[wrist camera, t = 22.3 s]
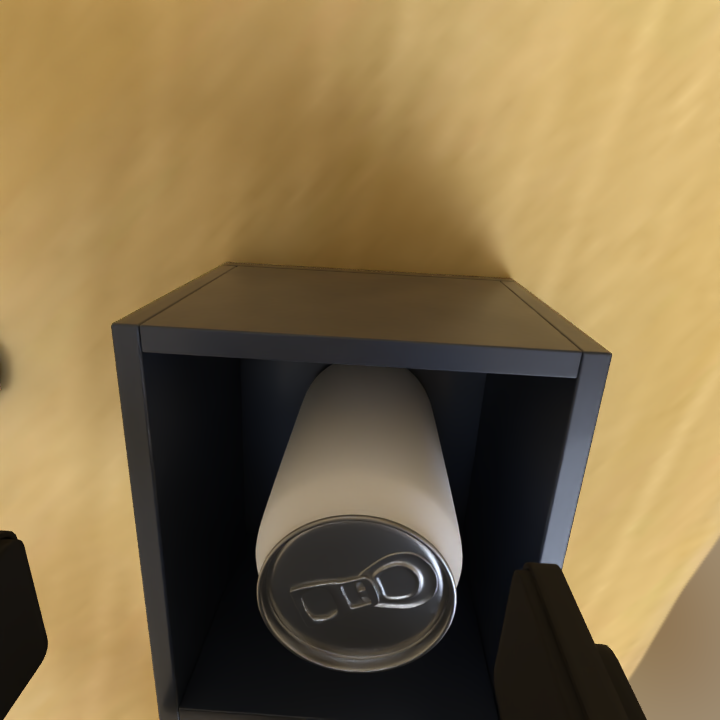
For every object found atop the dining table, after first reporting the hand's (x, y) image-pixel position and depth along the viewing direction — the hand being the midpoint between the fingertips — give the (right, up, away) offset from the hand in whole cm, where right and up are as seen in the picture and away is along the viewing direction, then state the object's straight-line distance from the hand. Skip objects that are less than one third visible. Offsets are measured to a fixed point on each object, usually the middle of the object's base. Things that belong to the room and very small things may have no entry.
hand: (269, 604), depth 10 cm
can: (+2, +2, +16) cm, 16 cm away
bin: (+2, +2, +17) cm, 17 cm away
